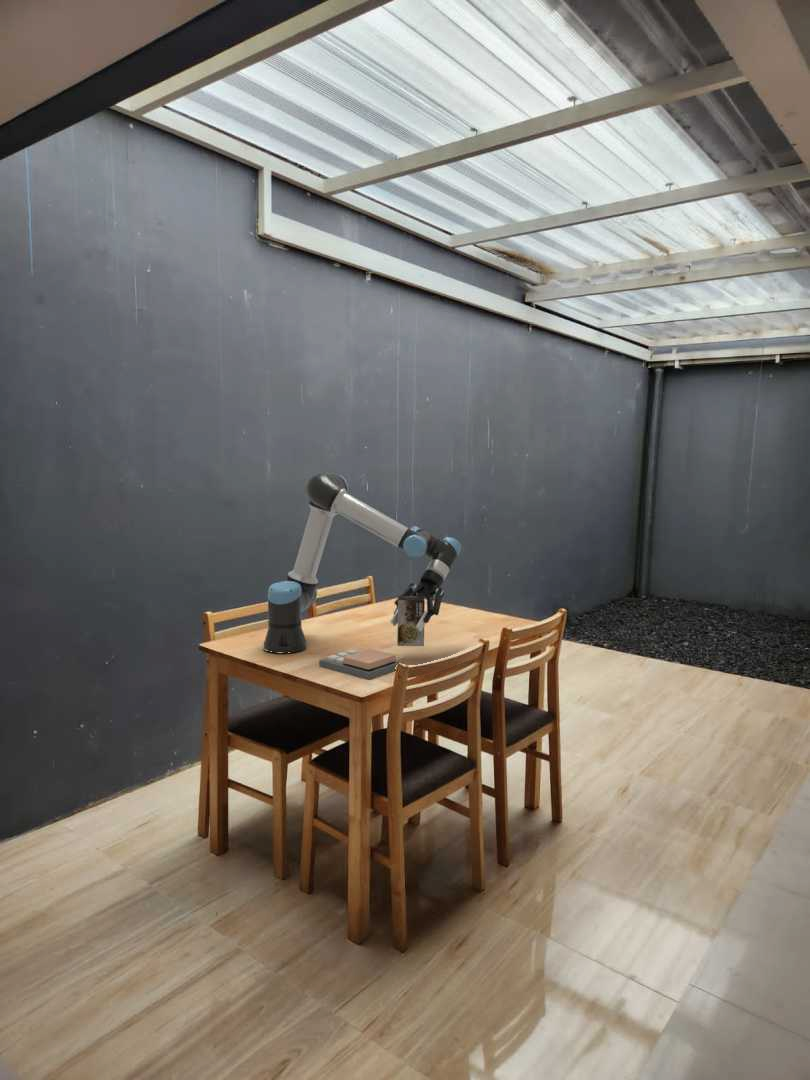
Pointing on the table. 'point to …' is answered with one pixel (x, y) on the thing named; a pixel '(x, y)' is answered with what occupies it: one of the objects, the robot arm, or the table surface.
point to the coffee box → (410, 620)
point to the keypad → (337, 664)
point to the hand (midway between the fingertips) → (405, 626)
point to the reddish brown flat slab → (369, 659)
